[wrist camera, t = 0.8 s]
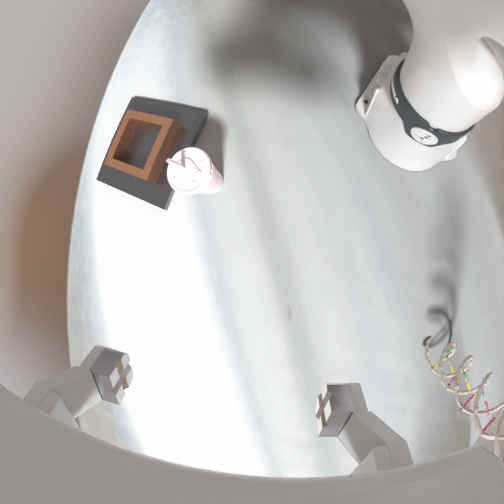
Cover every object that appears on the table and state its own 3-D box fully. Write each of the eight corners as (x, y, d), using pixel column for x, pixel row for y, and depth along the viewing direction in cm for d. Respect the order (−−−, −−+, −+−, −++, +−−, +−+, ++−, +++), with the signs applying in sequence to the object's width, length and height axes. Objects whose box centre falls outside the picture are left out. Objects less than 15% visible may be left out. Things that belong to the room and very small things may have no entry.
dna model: (414, 347, 38) (504, 463, 9) (443, 324, 37) (555, 412, 8) (427, 373, 38) (505, 487, 8) (455, 351, 36) (551, 445, 7)
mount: (134, 99, 46) (123, 91, 42) (208, 114, 43) (199, 104, 39) (99, 180, 49) (86, 177, 45) (167, 209, 46) (155, 207, 42)
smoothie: (203, 158, 44) (162, 131, 30) (238, 170, 43) (206, 143, 29) (188, 194, 45) (141, 179, 31) (222, 208, 44) (184, 196, 30)
